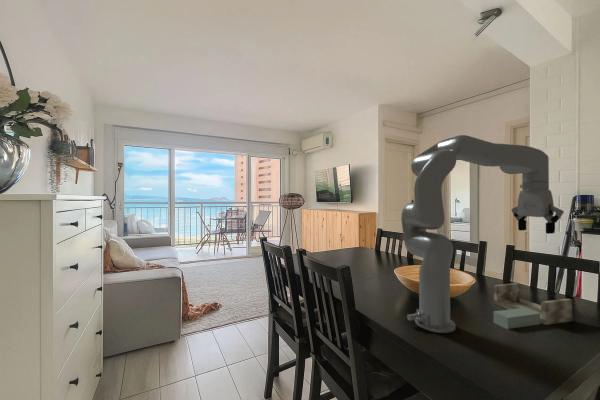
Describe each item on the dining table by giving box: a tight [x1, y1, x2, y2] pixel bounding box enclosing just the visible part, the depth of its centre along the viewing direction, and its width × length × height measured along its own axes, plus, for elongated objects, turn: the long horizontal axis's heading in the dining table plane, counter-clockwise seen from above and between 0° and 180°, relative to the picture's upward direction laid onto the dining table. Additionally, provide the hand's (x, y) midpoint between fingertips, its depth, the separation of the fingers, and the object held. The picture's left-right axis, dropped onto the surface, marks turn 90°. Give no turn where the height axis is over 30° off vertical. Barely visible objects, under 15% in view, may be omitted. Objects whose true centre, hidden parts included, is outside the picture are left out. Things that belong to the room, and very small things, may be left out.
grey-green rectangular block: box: [493, 308, 542, 330], centre depth 91 cm, size 14×5×4 cm, turn 102°
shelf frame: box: [493, 282, 573, 326], centre depth 100 cm, size 12×19×8 cm, turn 12°
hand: (535, 231), depth 100 cm, fingers open, 9 cm apart
